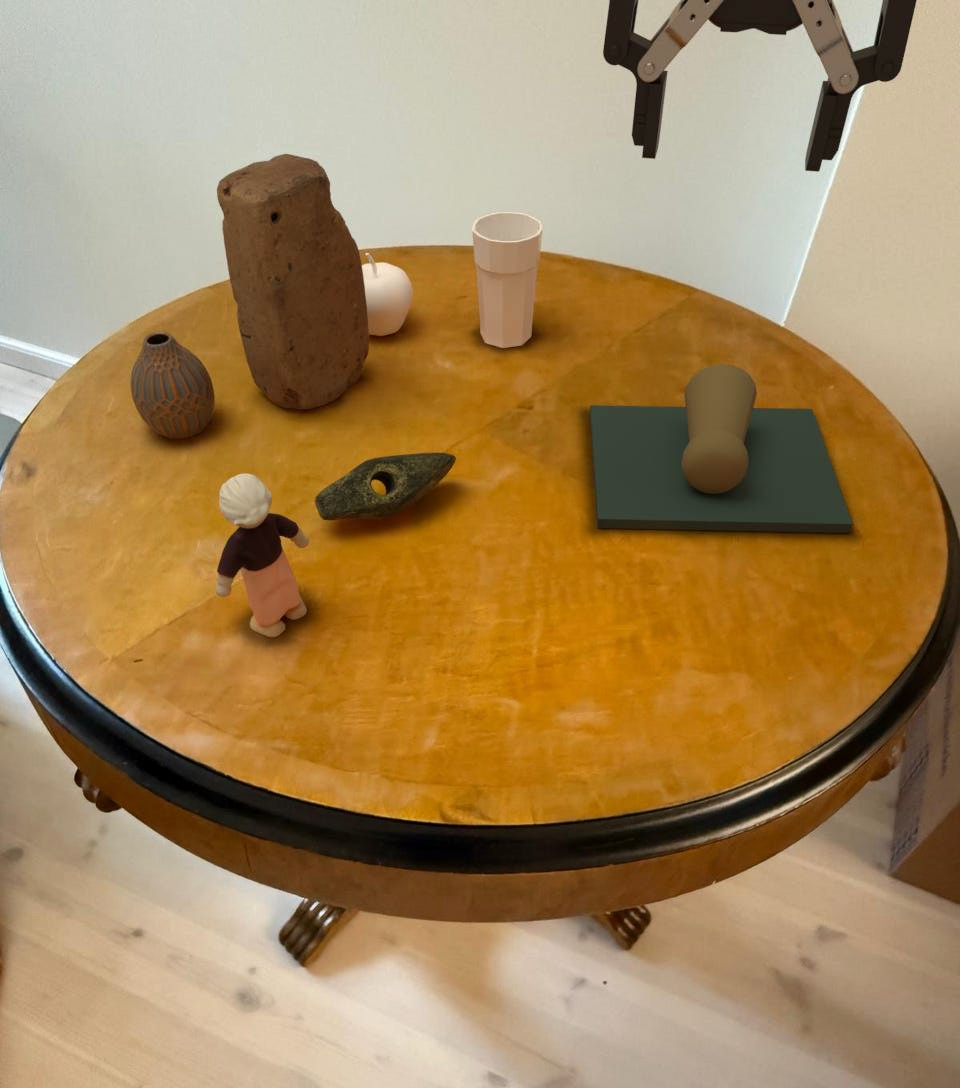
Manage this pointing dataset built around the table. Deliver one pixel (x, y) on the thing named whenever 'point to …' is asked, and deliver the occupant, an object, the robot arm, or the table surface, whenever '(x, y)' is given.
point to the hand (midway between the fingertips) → (730, 159)
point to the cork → (717, 427)
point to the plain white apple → (386, 297)
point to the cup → (506, 275)
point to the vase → (171, 388)
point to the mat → (673, 504)
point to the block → (294, 281)
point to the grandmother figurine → (259, 554)
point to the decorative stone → (400, 478)
